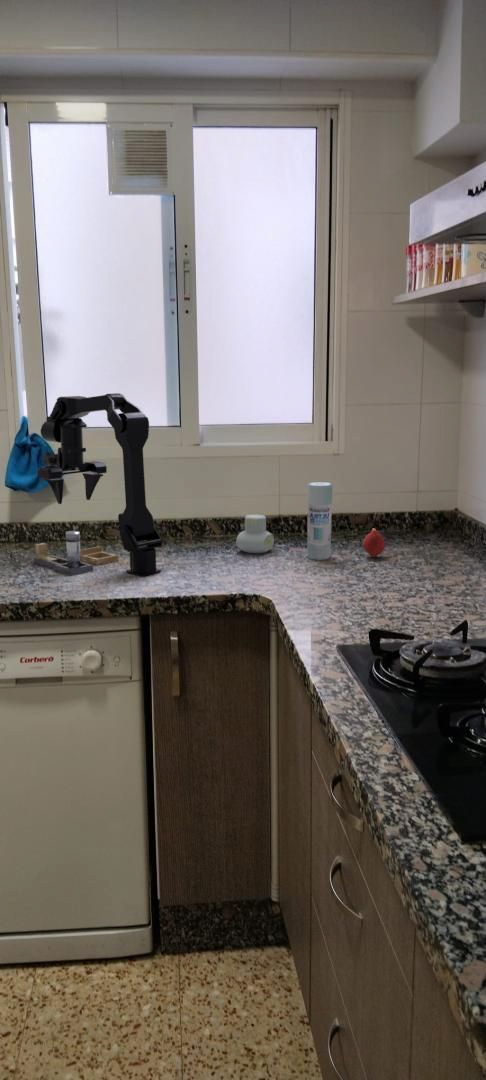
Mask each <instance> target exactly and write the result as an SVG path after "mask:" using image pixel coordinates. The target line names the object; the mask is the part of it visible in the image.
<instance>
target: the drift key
mask: <svg viewBox="0 0 486 1080" xmlns="http://www.w3.org/2000/svg"><path fill="white" fill-rule="evenodd" d="M34 546H35V557H39V558H42V559H46V560H49V561H53V562H57V563H58V559H56V558H52V557H49V556H47V555H48V548H47V547H48V545H47V543H45V542H41V543H37V544H36V543H35V545H34Z"/></svg>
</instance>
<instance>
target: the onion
mask: <svg viewBox="0 0 486 1080" xmlns="http://www.w3.org/2000/svg"><path fill="white" fill-rule="evenodd" d="M362 543H363V546H362V547H363V549H364V551H365V552H366V553H367V554H368V555H369V556H370V557H371V558H376V557H378V556H379V555H380V554H381V553H384V551H385V548H386V541H385V538H384V536H383V535H382V534H381V533H380V532H378V531H377V529H376V528H372V529H371V532H369V533H368V534H367V535H366V536H365V537H364V540H363V542H362Z"/></svg>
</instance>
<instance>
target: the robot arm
mask: <svg viewBox="0 0 486 1080" xmlns="http://www.w3.org/2000/svg"><path fill="white" fill-rule="evenodd" d="M116 410H117V411H118V410H119V411H120V413H117V411H116ZM101 411H105V412H106V418H107V419H106V420H107V422H108V423H109V424H110V426H111V427H112V428H113V431H114V437H115V440H116V442H117V443H118V445H119V447H120V448H121V449H122V460H123V462H122V463H123V474H124V475H123V477H124V478H123V479H124V480H123V481H124V492H125V493H124V494H125V495H124V496H125V508H124V510H123V512H121V513H118V517H117V518H118V529H117V530H118V531H119V535H120V538H121V539H120V540H121V543H122V546H123V550H125V551H126V552H128V553H129V567H130V568H129V569H125V573H128V574H131V575H135V576H139V577H145V576H148V575H149V576H150V575H153V574H159V573H161V572H162V570H161V569H159V568H157V549H156V548H162V546H163V544H164V543H163V542H164V539H163V537H162V536H161V535H160V533H159V531H158V530H157V528H156V527H155V522H154V517H153V515H152V513H151V512H150V509H148V506H147V502H146V501H147V500H146V499H147V497H146V483H145V481H146V480H145V461H144V460H145V459H144V446H145V445H146V443H147V441H148V438H149V432H150V421H149V420H150V419H149V418H148V416H146V414H145V413H144V412H143V411H142V410H141V409H140V407H138V406H137V405H135V404H134V403H133V402H131V401H129V400H128V399H127V397H125V395H124V394H122V393H118V392H117V393H115V392H114V393H106V394H103V395H97V396H96V395H95V396H88V397H86V396H80V395H74V396H73V395H72V396H71V395H68V396H59V397H57V398H56V401H55V403H54V406H53V408H52V410H51V413H50V415H49V416H46V419H45V420H46V421H44V422H43V423H42V425H41V428H40V435H41V437H42V438H43V440H44V441H47V442H53V443H60V447H58V449H57V453H55V454H53V453H52V452H51V451H50V452H45V453H43V457H42V458H43V459H42V460H43V465H44V466H40V467H39V468H38V470H37V478H40V479H42V481H45V482H47V483H48V484H49V485H50V488H51V490H52V492H53V494H54V497H55V499H56V502H57V504H59V505H62V503H63V495H64V479H63V478H62V477H63V475H64V476H65V475H70V474H71V475H73V474H80V473H82V477H83V478H84V481H85V483H84V486H85V487H84V488H85V489H84V491H85V499H86V500H87V501H90V500H91V498H92V495H93V493H94V491H95V488H96V486H97V484H98V482H99V481H100V479H101V478H102V477H104V474H107V471H108V469H107V468H108V467H107V465H106V463H105V462H103V461H97V460H92V461H84V453H85V452H87V449H86V447H84V443H83V442H84V441H83V440H84V439H83V438H84V437H83V429H84V428H87V427H88V425H87V424H86V422H84V420H83V419H82V418H84V417H86V416H88V415H89V414H90V413H92V412H93V413H94V412H101Z"/></svg>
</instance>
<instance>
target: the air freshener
mask: <svg viewBox="0 0 486 1080" xmlns="http://www.w3.org/2000/svg"><path fill="white" fill-rule="evenodd" d="M235 540H236V541H235V544H236V546H237V549H239V550H241V551H243V552H244V553H248V554H256V553H257V554H259V555H260V554H266V553H267V552H268V551H270V550H271V549H272V548H273V546H274V543H275V538H274V535H273V534H272V532H269V531H268V530H267V517H266V516H265V515H263V514H247V515H246V516H244V530H242V531H241V532H239V534H238V535H237V537H236V539H235Z"/></svg>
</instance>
